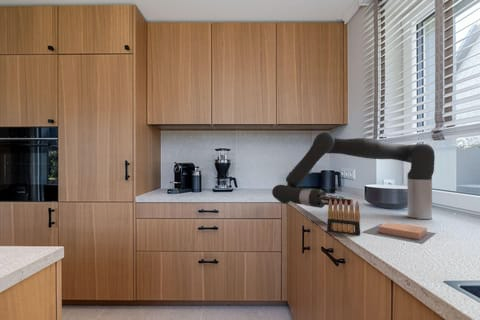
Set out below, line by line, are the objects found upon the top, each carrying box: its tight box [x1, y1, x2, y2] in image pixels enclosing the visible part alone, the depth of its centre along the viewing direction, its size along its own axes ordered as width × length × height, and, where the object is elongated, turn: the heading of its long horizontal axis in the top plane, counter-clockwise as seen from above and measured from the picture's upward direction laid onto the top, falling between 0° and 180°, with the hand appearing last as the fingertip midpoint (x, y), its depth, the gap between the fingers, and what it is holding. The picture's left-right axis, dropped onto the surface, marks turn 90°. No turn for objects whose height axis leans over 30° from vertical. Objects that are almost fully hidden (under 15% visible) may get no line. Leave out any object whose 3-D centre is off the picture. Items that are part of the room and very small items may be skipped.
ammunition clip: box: [326, 199, 361, 236], centre depth 94 cm, size 11×2×12 cm, turn 60°
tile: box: [377, 221, 428, 239], centre depth 93 cm, size 10×2×12 cm
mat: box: [360, 223, 437, 245], centre depth 94 cm, size 18×18×1 cm
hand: (352, 202), depth 105 cm, fingers closed
